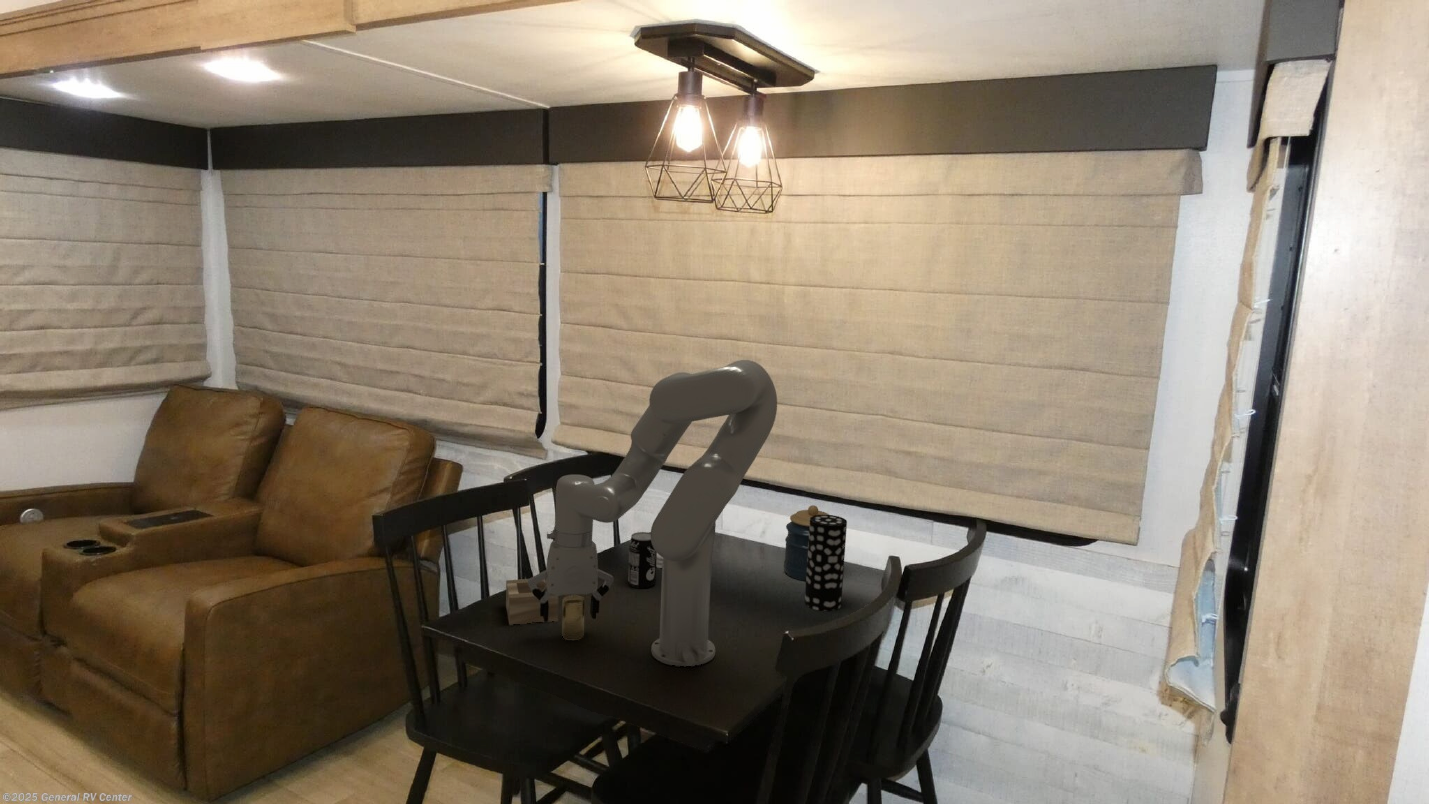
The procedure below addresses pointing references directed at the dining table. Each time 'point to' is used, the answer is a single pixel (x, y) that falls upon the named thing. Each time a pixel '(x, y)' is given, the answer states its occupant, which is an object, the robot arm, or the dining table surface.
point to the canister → (799, 542)
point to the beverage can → (642, 561)
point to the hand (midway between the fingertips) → (569, 617)
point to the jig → (527, 603)
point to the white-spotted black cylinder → (825, 562)
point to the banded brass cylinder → (573, 617)
